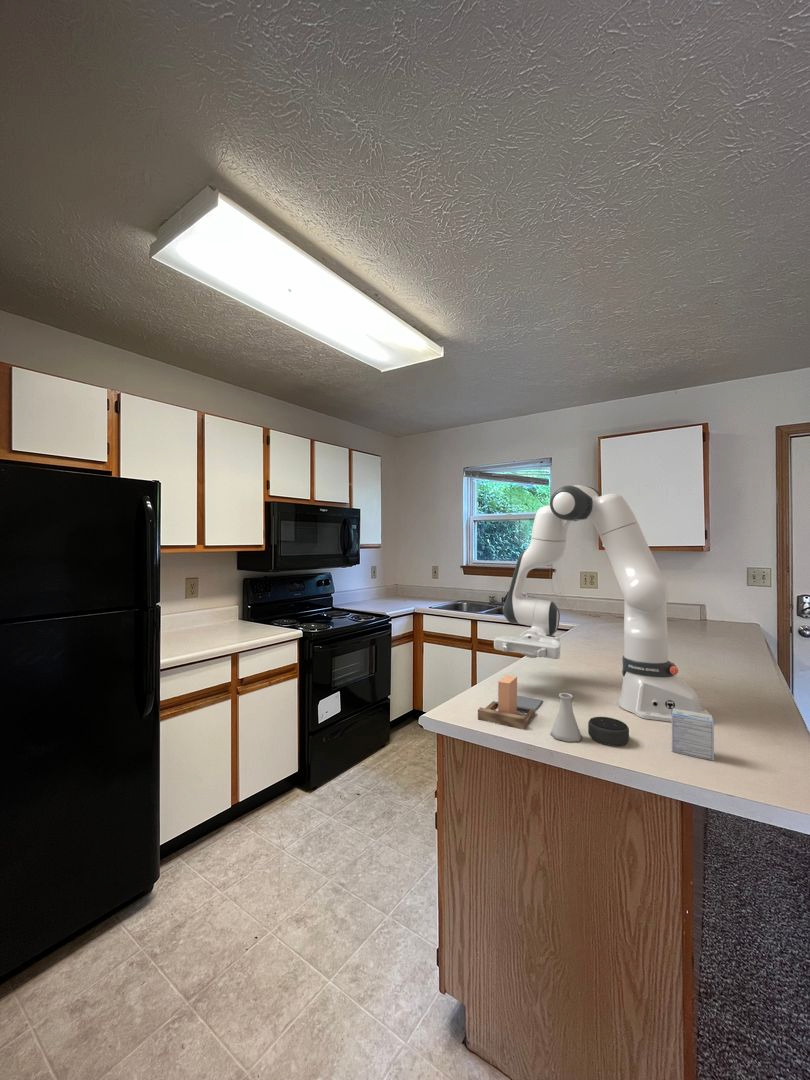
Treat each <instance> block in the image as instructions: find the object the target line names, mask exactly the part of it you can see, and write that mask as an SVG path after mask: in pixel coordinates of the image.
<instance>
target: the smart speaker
mask: <svg viewBox="0 0 810 1080" xmlns="http://www.w3.org/2000/svg"><path fill="white" fill-rule="evenodd" d="M587 731H588V732H587V733H588V736H589V737H590V738H591V739H592V740H593V741H596V742H598V743H601V744H602V745H603V744H604V745H607V746H618V747H619V746H624V745H626V744H627V743H628V742H629V740H630V729H629V726H628V725H627V724H626V723H625V722H623V721H622V720H620V719H616V718H613V717H610V716H609V717H608V716H596V717H595V716H594V717H591V718H590V719H589V720H588V723H587Z"/></svg>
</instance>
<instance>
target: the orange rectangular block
mask: <svg viewBox="0 0 810 1080" xmlns="http://www.w3.org/2000/svg"><path fill="white" fill-rule="evenodd" d="M497 682H498V683H497V684H498V687H497V689H498V690H497V696H498V697H497V702H498V708H497V711H500V712H505V713H510V714H516V713H517V714H518V712H517V695H518V676H515V675H514V676H513V675H507V674H506V675H505V676H503V677H502V678H501V679H500V680H498V681H497ZM517 714H516V715H517Z"/></svg>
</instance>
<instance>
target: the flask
mask: <svg viewBox="0 0 810 1080" xmlns="http://www.w3.org/2000/svg"><path fill="white" fill-rule="evenodd" d="M558 697H559V699H560V701H559V707H558V712H557V715H556V718H555V720H554V723H553V726H552V728H551V731H550V735H551V737H553V738H554V739H555V740H559V741H564V742H570V743H571V742H573V743H574V742H580V741H581V740H582V737H583V736H582V734H581V731H580V728H579V726H578V723H577V720H576V716H575V713H574V710H573V704H572V702H573V701H572V699H573V698H574V696H573V694H570V693H567V692H562V693H561V692H560V693H559V695H558Z"/></svg>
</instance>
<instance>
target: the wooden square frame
mask: <svg viewBox="0 0 810 1080" xmlns="http://www.w3.org/2000/svg"><path fill="white" fill-rule="evenodd" d="M495 707H496V708H497V707H498V701H494V700H493V701H491V702H490V703H489V704H488V705H487V706H485V708H484V707H479V708H478V709H477V720H479V719H480V721H484V720H485V721H484V722H488V721H489V722H488V723H493V722H494V724H497V723H498V725H502V726H506V725H507V727H510V728H516V729H521V730H525V728H526V727H527V725H528V724H529V723H530V722H531V720H532V719H533V718H534V717H535V715H536V714H537V710H536V709H531V708H526V707H521V706H517V713H522V714H525V716H524V715H519V714H516V715H515V714H510V713H505V712H500V711H498V710H495V709H496V708H495ZM494 708H495V709H494Z"/></svg>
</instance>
